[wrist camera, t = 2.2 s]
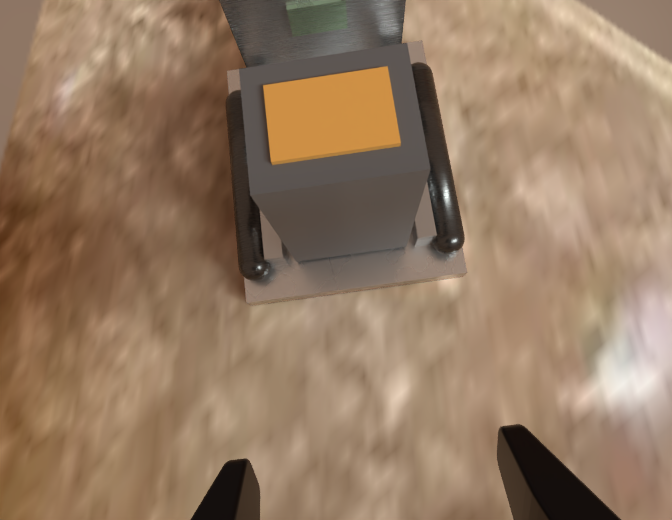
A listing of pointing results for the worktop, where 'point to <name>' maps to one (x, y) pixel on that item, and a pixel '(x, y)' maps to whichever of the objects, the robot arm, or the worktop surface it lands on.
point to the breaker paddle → (336, 150)
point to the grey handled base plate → (439, 194)
